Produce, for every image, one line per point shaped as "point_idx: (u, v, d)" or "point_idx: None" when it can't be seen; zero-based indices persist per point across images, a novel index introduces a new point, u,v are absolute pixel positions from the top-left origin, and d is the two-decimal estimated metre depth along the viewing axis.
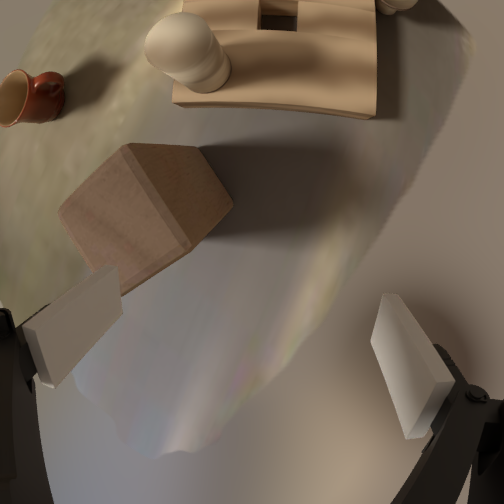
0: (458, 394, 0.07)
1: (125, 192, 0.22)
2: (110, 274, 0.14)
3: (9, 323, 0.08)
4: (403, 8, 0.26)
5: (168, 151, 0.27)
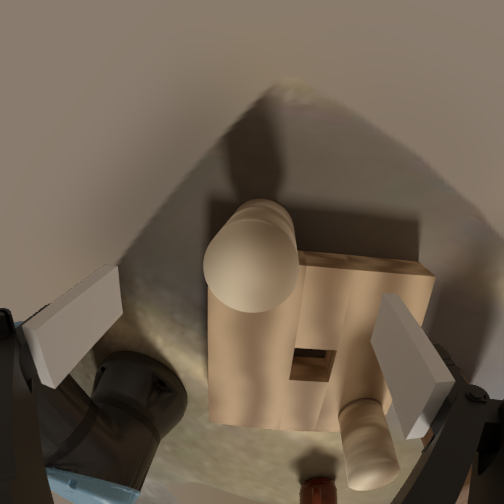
0: (458, 394, 0.07)
1: (468, 491, 0.21)
2: (110, 274, 0.14)
3: (9, 323, 0.08)
4: None
5: None
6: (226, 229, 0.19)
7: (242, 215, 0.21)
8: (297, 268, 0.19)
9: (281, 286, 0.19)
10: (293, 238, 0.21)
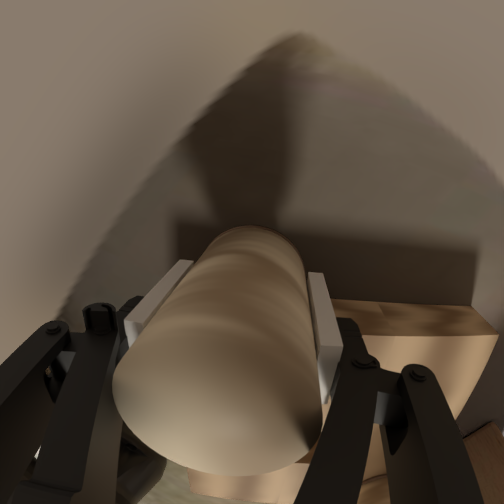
0: (344, 363, 0.09)
1: None
2: (189, 268, 0.15)
3: (111, 320, 0.10)
4: None
5: None
6: (145, 345, 0.07)
7: (197, 289, 0.09)
8: (318, 424, 0.07)
9: (280, 449, 0.08)
10: (310, 337, 0.09)
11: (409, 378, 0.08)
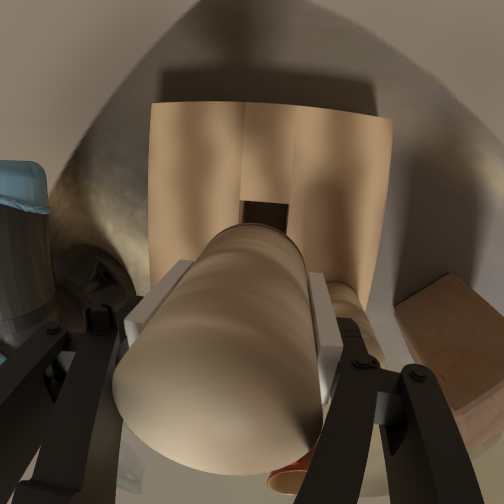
0: (343, 363, 0.09)
1: (487, 407, 0.18)
2: (189, 268, 0.15)
3: (111, 320, 0.10)
4: None
5: (437, 357, 0.25)
6: (145, 346, 0.07)
7: (197, 289, 0.09)
8: (318, 424, 0.07)
9: (280, 449, 0.08)
10: (310, 336, 0.09)
11: (409, 378, 0.08)
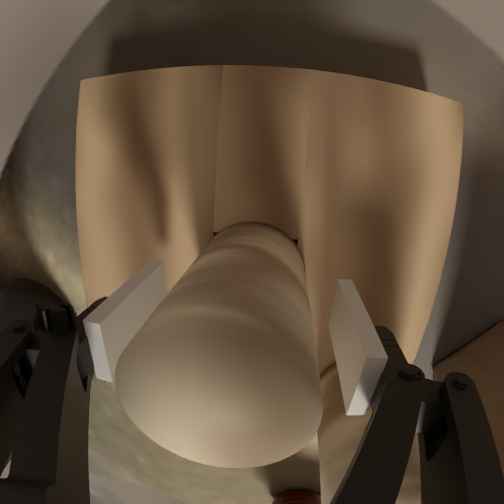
0: (390, 373, 0.08)
1: None
2: (158, 269, 0.15)
3: (70, 319, 0.09)
4: None
5: None
6: (148, 334, 0.07)
7: (199, 281, 0.09)
8: (318, 414, 0.07)
9: (280, 440, 0.08)
10: (310, 328, 0.10)
11: (451, 386, 0.07)
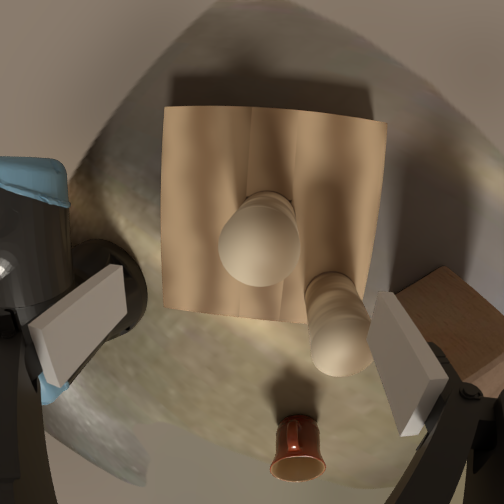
0: (452, 392, 0.07)
1: None
2: (115, 273, 0.14)
3: (15, 323, 0.08)
4: None
5: None
6: (238, 214, 0.22)
7: (251, 203, 0.24)
8: (298, 247, 0.22)
9: (285, 263, 0.23)
10: (295, 223, 0.25)
11: None
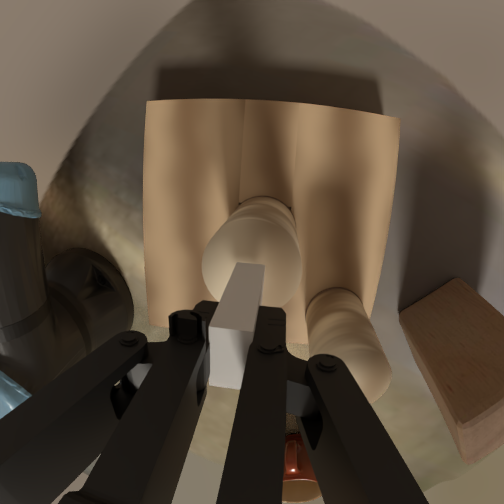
0: (249, 351, 0.09)
1: (495, 419, 0.16)
2: None
3: (199, 329, 0.10)
4: None
5: (444, 367, 0.23)
6: (225, 228, 0.18)
7: (242, 213, 0.20)
8: (300, 268, 0.18)
9: (283, 287, 0.19)
10: (295, 237, 0.20)
11: (316, 370, 0.08)
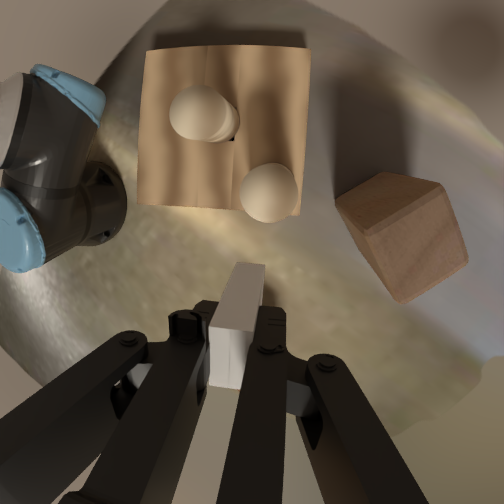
0: (249, 351, 0.09)
1: (402, 233, 0.27)
2: None
3: (199, 329, 0.10)
4: (237, 115, 0.39)
5: (358, 209, 0.34)
6: (183, 90, 0.29)
7: None
8: (223, 108, 0.29)
9: (214, 120, 0.29)
10: (226, 101, 0.31)
11: (316, 370, 0.08)
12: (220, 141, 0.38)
